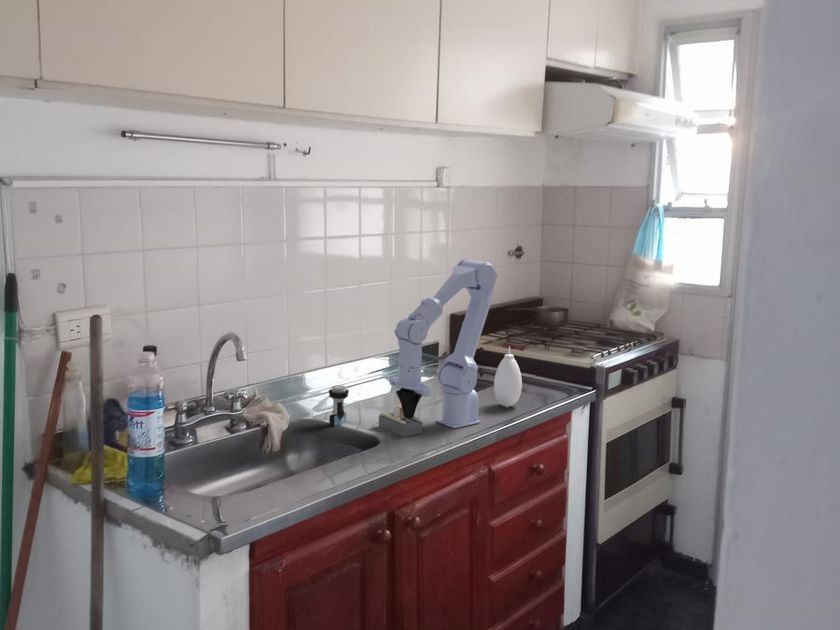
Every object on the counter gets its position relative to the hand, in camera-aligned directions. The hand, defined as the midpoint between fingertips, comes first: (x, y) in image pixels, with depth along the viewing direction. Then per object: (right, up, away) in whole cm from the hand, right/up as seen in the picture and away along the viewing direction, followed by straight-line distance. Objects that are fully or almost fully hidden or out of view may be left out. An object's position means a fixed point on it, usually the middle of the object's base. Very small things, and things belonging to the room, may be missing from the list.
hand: (408, 417), depth 209 cm
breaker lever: (-2, 0, +3) cm, 4 cm away
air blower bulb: (+28, 0, +28) cm, 39 cm away
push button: (-18, -3, +8) cm, 20 cm away
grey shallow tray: (-2, -4, +4) cm, 6 cm away
